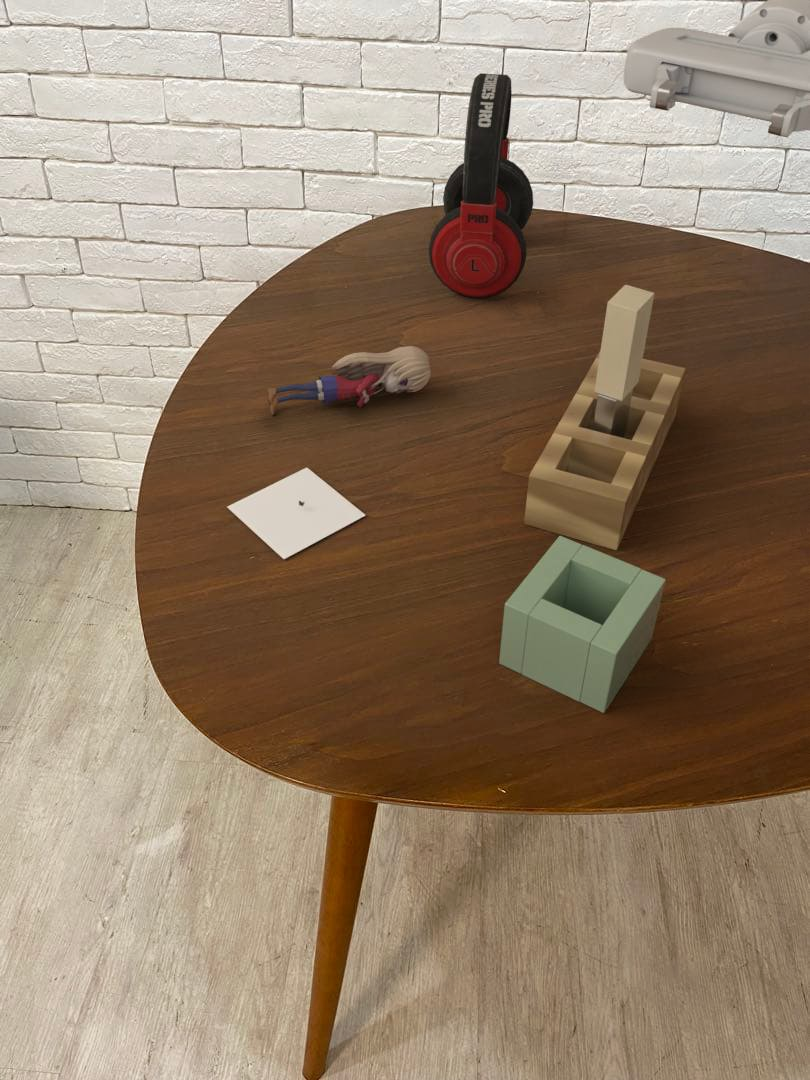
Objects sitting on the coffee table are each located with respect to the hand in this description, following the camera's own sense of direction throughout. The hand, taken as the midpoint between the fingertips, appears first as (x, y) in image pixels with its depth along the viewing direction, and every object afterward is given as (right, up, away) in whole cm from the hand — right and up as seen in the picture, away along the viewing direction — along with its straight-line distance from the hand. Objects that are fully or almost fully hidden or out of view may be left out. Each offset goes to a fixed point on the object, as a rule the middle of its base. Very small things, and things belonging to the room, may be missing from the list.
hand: (717, 111), depth 79 cm
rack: (-7, -26, +10) cm, 29 cm away
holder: (-12, -40, -5) cm, 42 cm away
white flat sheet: (-32, -30, +6) cm, 45 cm away
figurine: (-29, -19, +17) cm, 39 cm away
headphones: (-15, -3, +36) cm, 39 cm away
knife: (-7, -26, +10) cm, 29 cm away
